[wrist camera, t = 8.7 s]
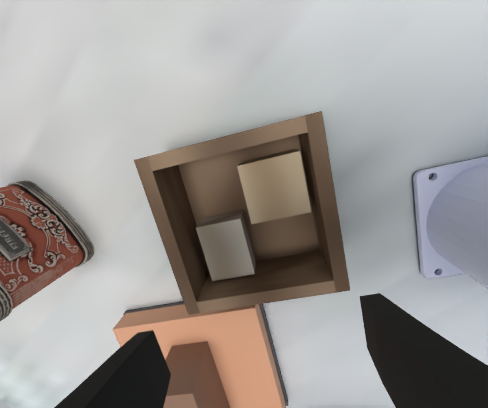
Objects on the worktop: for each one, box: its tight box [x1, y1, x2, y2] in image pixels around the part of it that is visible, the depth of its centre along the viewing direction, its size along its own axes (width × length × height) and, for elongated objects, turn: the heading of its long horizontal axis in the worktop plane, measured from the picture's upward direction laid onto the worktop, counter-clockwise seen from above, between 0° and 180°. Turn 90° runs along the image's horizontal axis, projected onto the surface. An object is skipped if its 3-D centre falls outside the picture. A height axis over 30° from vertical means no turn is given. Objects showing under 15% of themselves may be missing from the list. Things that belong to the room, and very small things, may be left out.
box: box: [134, 111, 350, 315], centre depth 16 cm, size 10×10×4 cm
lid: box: [113, 304, 286, 408], centre depth 19 cm, size 12×12×6 cm
